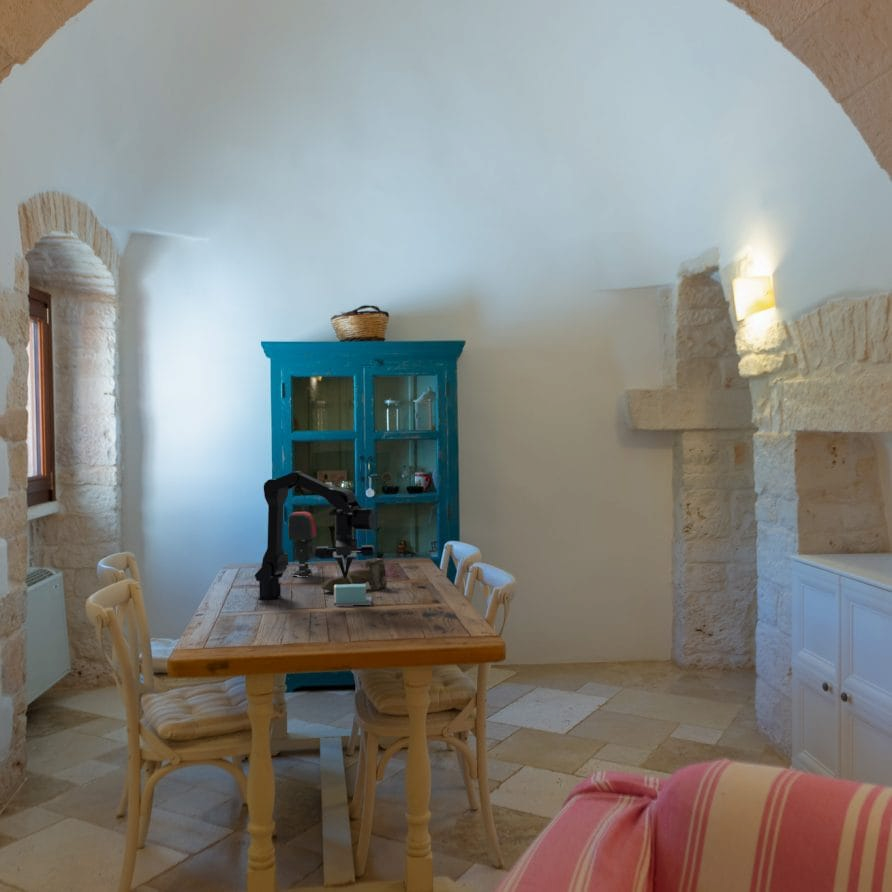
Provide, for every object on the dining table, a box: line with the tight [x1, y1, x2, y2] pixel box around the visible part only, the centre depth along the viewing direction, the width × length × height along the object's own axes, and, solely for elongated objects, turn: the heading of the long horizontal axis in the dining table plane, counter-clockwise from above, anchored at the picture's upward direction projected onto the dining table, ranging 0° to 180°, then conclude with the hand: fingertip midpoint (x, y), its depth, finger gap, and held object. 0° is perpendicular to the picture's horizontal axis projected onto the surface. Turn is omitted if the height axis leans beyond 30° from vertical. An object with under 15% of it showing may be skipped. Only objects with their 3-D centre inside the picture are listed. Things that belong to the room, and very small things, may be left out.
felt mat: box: [335, 596, 373, 607], centre depth 269 cm, size 11×12×1 cm
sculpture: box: [320, 557, 388, 593], centre depth 291 cm, size 8×22×15 cm
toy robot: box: [287, 496, 318, 576], centre depth 322 cm, size 22×9×30 cm, turn 178°
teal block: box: [333, 583, 367, 604], centre depth 269 cm, size 5×5×10 cm
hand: (345, 577), depth 269 cm, fingers closed
